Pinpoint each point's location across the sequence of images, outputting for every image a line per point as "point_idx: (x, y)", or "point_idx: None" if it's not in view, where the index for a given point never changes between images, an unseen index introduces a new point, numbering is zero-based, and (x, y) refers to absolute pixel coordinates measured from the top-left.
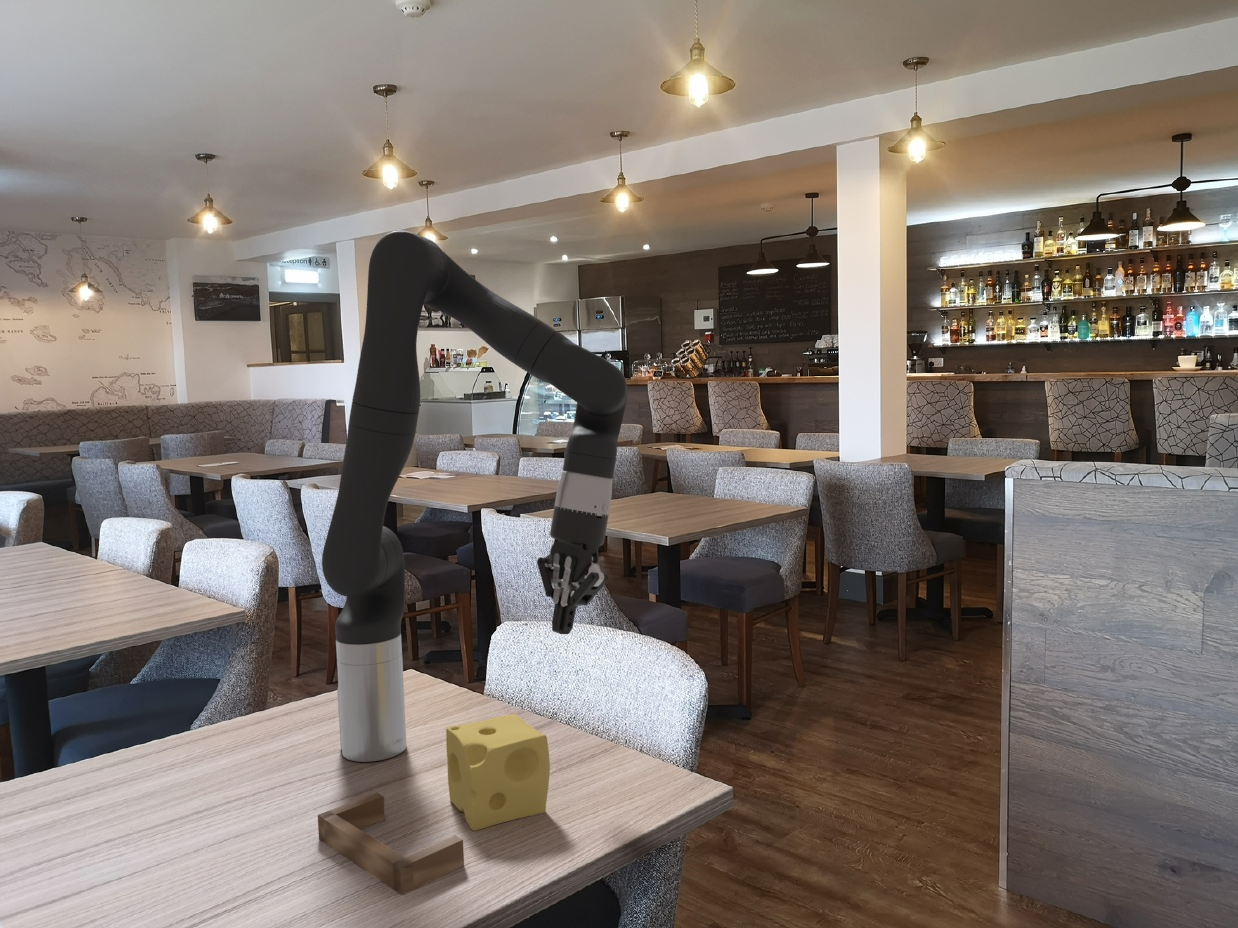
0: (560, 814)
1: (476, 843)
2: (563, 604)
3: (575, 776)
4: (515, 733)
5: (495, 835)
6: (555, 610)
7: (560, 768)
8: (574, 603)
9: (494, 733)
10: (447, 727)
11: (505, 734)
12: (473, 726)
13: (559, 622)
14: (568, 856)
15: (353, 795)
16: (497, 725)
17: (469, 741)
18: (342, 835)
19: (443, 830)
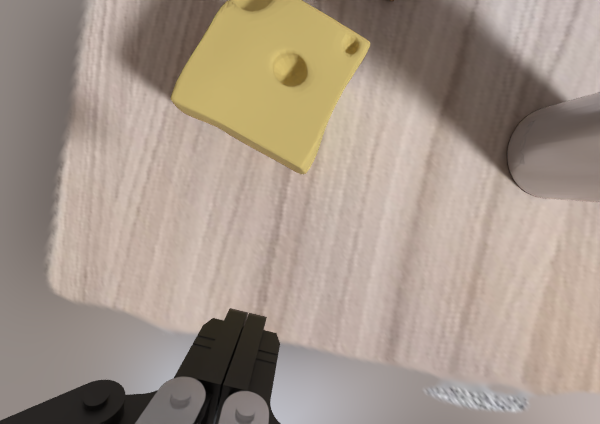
0: (189, 126)
1: None
2: (185, 386)
3: (242, 228)
4: (227, 76)
5: None
6: (249, 368)
7: (276, 238)
8: (87, 384)
9: (269, 65)
10: (368, 41)
11: (243, 66)
12: (327, 71)
13: (223, 329)
14: (110, 40)
15: (467, 29)
16: (290, 99)
17: (280, 4)
18: None
19: None
